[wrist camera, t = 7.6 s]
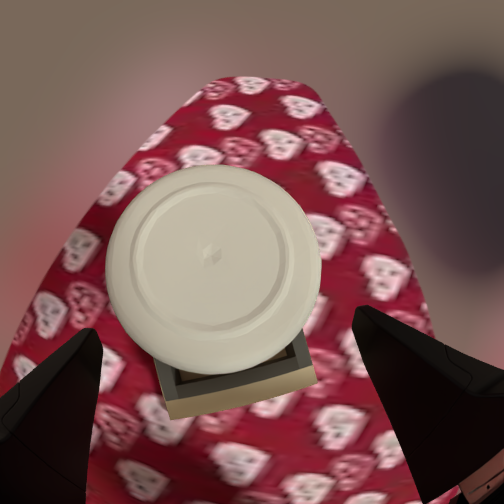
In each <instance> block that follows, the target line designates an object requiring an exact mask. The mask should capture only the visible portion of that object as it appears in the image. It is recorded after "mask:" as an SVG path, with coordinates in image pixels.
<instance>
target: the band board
mask: <svg viewBox="0 0 504 504" xmlns="http://www.w3.org/2000/svg"><path fill="white" fill-rule="evenodd" d="M153 359H154V363H155V367H156V371H157V375H158V378H159V382H160V386H161V390H162V393H163V397H164V400H165V404H166V407H167V410H168V414H169V417H170V420H174V419H181V418H187V417H193V416H198V415H203V414H208V413H213V412H218V411H223V410H227V409H232V408H236V407H240V406H244V405H248V404H252V403H256V402H259V401H263V400H267V399H270V398H274V397H277V396H280V395H284V394H287V393H290V392H293V391H296V390H299V389H302V388H305V387H308V386H311V385H314V384H317V383H318V382H317V378H316V375H315V371H314V367H313V364H312V360H311V357H310V353H309V350H308V346H307V342H306V339H305V335H304V332H303V328H302V329H301V331H300V332H299V333H298V335H297V336H296V337H295V338H294V339H293V340H292V341H291V342H290V343H289V344H288V345H287V346H286V347H285V348H283V349H282V350H281V351H280V352H278V353H277V354H276V355H274V356H273V357H271V358H269V359H268V360H266V361H264V362H262V363H260V364H258V365H256V366H253V367H251V368H248V369H245V370H241V371H237V372H233V373H226V374H200V373H194V372H188V371H184V370H180V369H177V368H175V367H172V366H170V365H168V364H165V363H163V362H161V361H159V360H158V359H156V358H154V357H153Z"/></svg>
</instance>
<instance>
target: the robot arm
mask: <svg viewBox="0 0 504 504" xmlns="http://www.w3.org/2000/svg"><path fill="white" fill-rule="evenodd" d="M352 331H353V334H354V337H355V340H356V342H357V345H358V348H359V351H360V354H361V357H362V360H363V363H364V365H365V367H366V370H367V372H368V374H369V376H370V378H371V380H372V383H373V385H374V387H375V389H376V391H377V393H378V396H379V398H380V400H381V402H382V404H383V407H384V409H385V411H386V413H387V416H388V418H389V420H390V423H391V425H392V427H393V430H394V432H395V434H396V437H397V439H398V441H399V444H400V446H401V449H402V451H403V454H404V456H405V459H406V461H407V464H408V466H409V469H410V472H411V474H412V477H413V479H414V482H415V485H416V487H417V490H418V493H419V495H420V498H421V501H422V503H423V504H427V503H429V502H430V501H432V500H434V499H436V498H437V497H439V496H441V495H442V494H444V493H445V492H447V491H448V490H450V489H452V488H453V487H455V486H456V485H458V486H459V488H460V490H461V493H459V494H458V495H456V496H455V497H453V498H452V499H450V502H449V504H504V370H502V369H499V368H497V367H494V366H492V365H490V364H487V363H485V362H482V361H480V360H477V359H475V358H473V357H470V356H468V355H466V354H463V353H461V352H459V351H457V350H455V349H453V348H451V347H449V346H447V345H444V344H443V343H442V342H439V341H438V340H436V339H434V338H432V337H430V336H428V335H426V334H424V333H422V332H420V331H418V330H416V329H414V328H412V327H410V326H408V325H406V324H404V323H402V322H400V321H398V320H397V319H395V318H393V317H391V316H389V315H387V314H385V313H383V312H381V311H379V310H377V309H375V308H373V307H371V306H369V305H362V306H358V307H357V308H356V309H355V313H354V318H353V322H352ZM102 358H103V346H102V344H101V341H100V339H99V337H98V334H97V332H96V330H95V329H94V328H83V329H82V330H81V331H79V332H78V333H77V334H76V335H74V336H73V337H72V338H71V339H70V340H68V341H67V342H66V343H65V344H63V345H62V346H61V347H60V348H58V349H57V350H56V351H55V352H54V353H52V354H51V355H50V356H49V357H48V358H46V359H45V360H44V361H43V362H42V363H40V364H39V365H38V366H37V367H36V368H34V369H33V370H32V371H31V372H30V373H29V374H27V375H26V376H25V377H24V378H23V379H22V380H20V383H19V382H18V383H17V384H16V385H15V386H14V387H12V388H11V389H10V390H9V391H8V392H7V393H5V394H4V395H3V396H2V397H0V504H86V482H87V469H88V459H89V450H90V442H91V435H92V428H93V421H94V415H95V409H96V404H97V398H98V393H99V386H100V377H101V367H102Z"/></svg>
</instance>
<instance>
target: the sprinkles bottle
mask: <svg viewBox="0 0 504 504" xmlns="http://www.w3.org/2000/svg"><path fill="white" fill-rule="evenodd" d="M105 274H106V284H107V291H108V295H109V298H110V302H111V305H112V307H113V309H114V312H115V314H116V316H117V318H118V320H119V321H120V323H121V325H122V326H123V328H124V329H125V331H126V332H127V334H128V335H129V336H130V337H131V338H132V339H133V340H134V341H135V342H136V343H137V344H138V345H139V346H140V347H141V348H142V349H143V350H145V351H146V352H147V353H149V354H150V355H151V356H153V357H154V358H156V359H158V360H159V361H161V362H163V363H165V364H168V365H170V366H172V367H175V368H177V369H180V370H184V371H188V372H194V373H200V374H226V373H233V372H237V371H241V370H245V369H248V368H251V367H253V366H256V365H258V364H260V363H262V362H264V361H266V360H268V359H269V358H271V357H273V356H274V355H276V354H277V353H278V352H280V351H281V350H282V349H283V348H285V347H286V346H287V345H288V344H289V343H290V342H291V341H292V340H293V339H294V338H295V337H296V336H297V335H298V333H299V332H300V331H301V329H302V328H303V326H304V325H305V323H306V321H307V320H308V318H309V316H310V314H311V312H312V310H313V308H314V305H315V302H316V299H317V296H318V291H319V287H320V279H321V256H320V251H319V246H318V241H317V238H316V235H315V233H314V230H313V228H312V225H311V223H310V222H309V220H308V218H307V216H306V215H305V213H304V211H303V210H302V208H301V207H300V206H299V205H298V203H297V202H296V201H295V200H294V199H293V198H292V197H291V196H290V195H289V194H288V193H287V192H286V191H285V190H283V189H282V188H281V187H280V186H278V185H277V184H275V183H274V182H272V181H271V180H269V179H267V178H265V177H263V176H261V175H259V174H257V173H255V172H252V171H249V170H247V169H243V168H238V167H234V166H227V165H201V166H194V167H189V168H185V169H182V170H178V171H175V172H173V173H170V174H168V175H166V176H164V177H162V178H160V179H158V180H157V181H155V182H153V183H152V184H150V185H149V186H147V187H146V188H145V189H144V190H143V191H141V192H140V193H139V194H138V195H137V196H136V197H135V198H134V199H133V200H132V201H131V203H130V204H129V205H128V206H127V207H126V209H125V210H124V212H123V213H122V215H121V216H120V218H119V219H118V221H117V223H116V225H115V227H114V230H113V233H112V235H111V238H110V241H109V244H108V248H107V254H106V264H105Z"/></svg>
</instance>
